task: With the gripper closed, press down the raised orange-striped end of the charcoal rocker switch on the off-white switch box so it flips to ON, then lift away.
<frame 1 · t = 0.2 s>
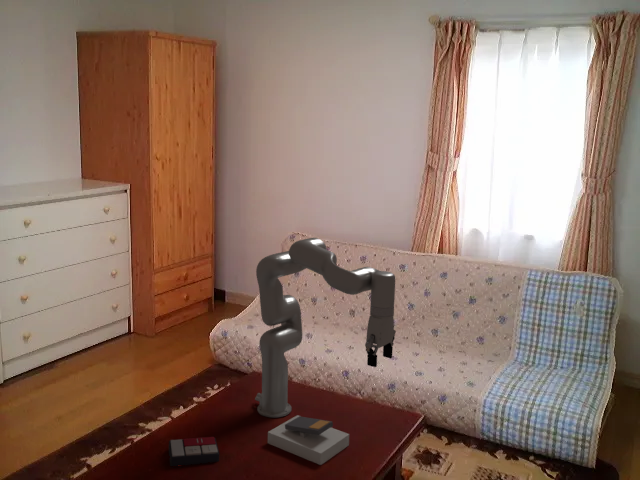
hand: (379, 361, 204), 31 cm above the table, tool pointing down, fingers open, 9 cm apart
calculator: (193, 457, 203), on the table
switch box: (308, 444, 212), on the table
rocker switch: (308, 425, 211), point 7 cm above the table, hinge at -10.0°
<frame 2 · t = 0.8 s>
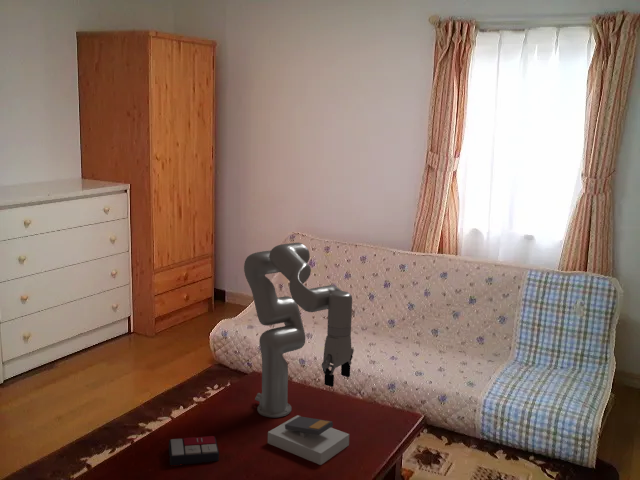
hand: (337, 380, 205), 24 cm above the table, tool pointing down, fingers open, 9 cm apart
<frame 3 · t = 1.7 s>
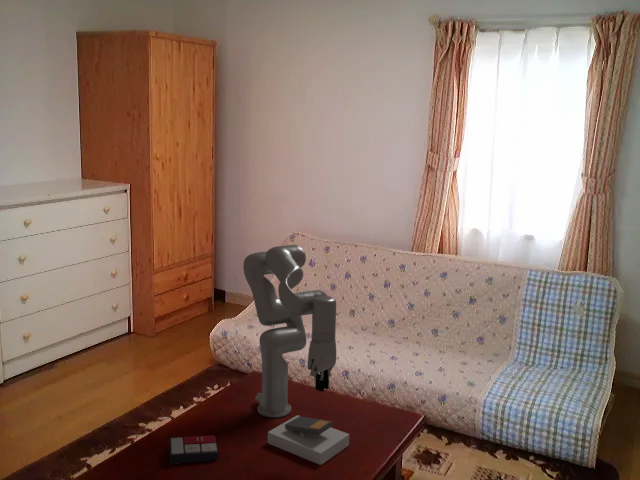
hand: (322, 388, 205), 21 cm above the table, tool pointing down, fingers closed
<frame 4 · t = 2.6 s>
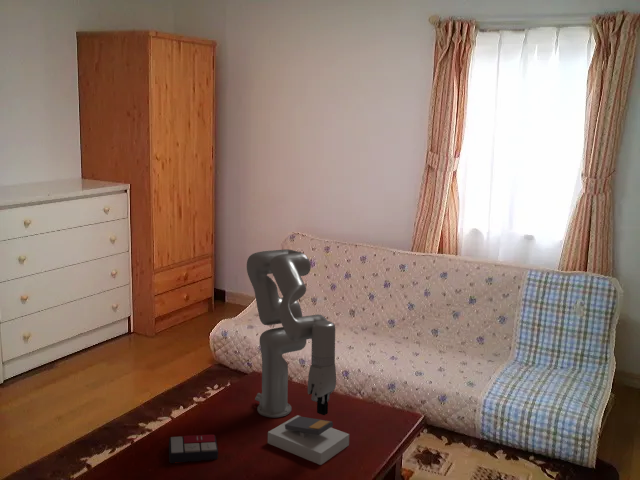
hand: (322, 413, 206), 13 cm above the table, tool pointing down, fingers closed
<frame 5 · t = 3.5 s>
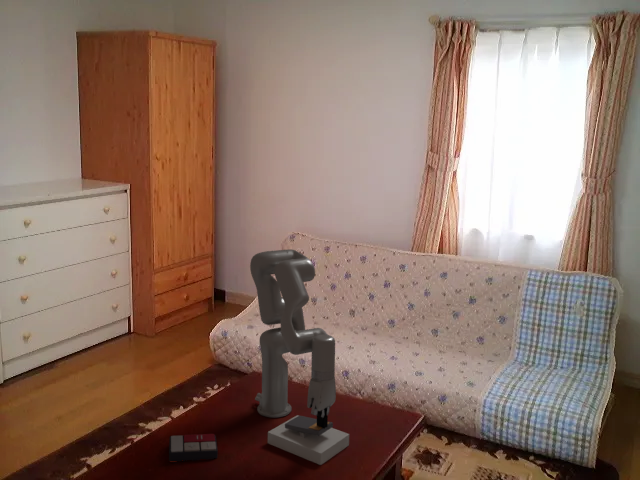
hand: (322, 426, 207), 8 cm above the table, tool pointing down, fingers closed
rocker switch: (308, 425, 211), point 7 cm above the table, hinge at -7.5°, touching gripper
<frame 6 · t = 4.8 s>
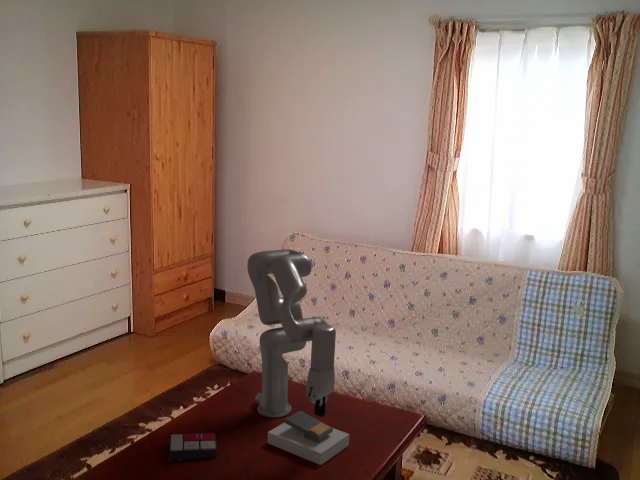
hand: (319, 414, 208), 12 cm above the table, tool pointing down, fingers closed
rocker switch: (308, 425, 211), point 7 cm above the table, hinge at 7.7°
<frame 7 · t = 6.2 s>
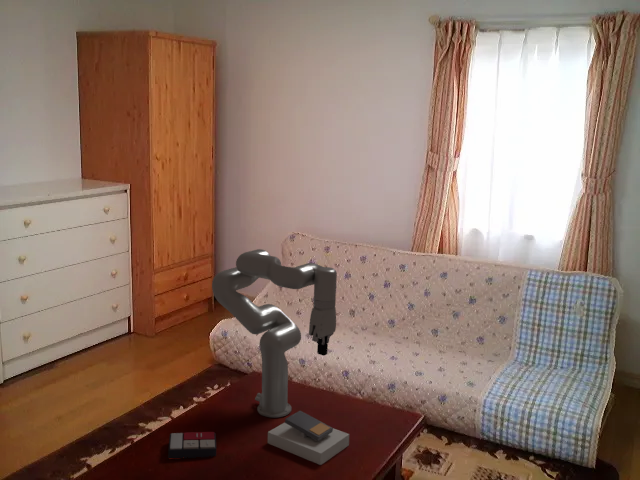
hand: (322, 354, 220), 27 cm above the table, tool pointing down, fingers closed
rocker switch: (308, 425, 211), point 7 cm above the table, hinge at 8.2°
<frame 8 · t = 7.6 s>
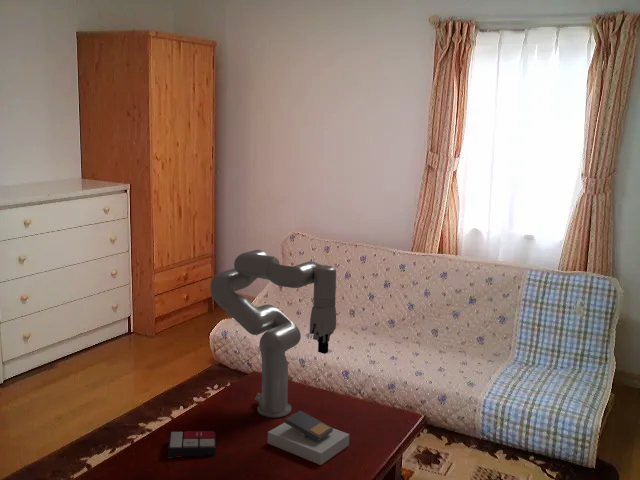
hand: (323, 352, 221), 27 cm above the table, tool pointing down, fingers closed
at the end: rocker switch at +8° (first picture: -10°) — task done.
